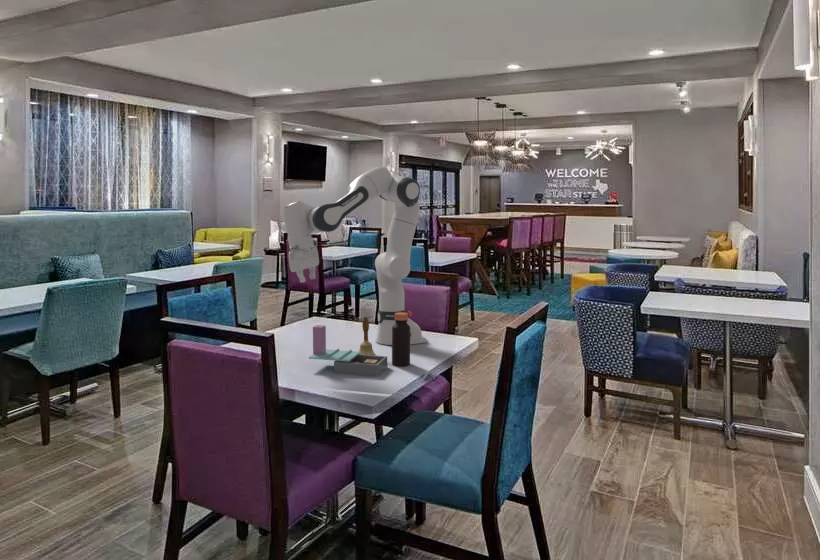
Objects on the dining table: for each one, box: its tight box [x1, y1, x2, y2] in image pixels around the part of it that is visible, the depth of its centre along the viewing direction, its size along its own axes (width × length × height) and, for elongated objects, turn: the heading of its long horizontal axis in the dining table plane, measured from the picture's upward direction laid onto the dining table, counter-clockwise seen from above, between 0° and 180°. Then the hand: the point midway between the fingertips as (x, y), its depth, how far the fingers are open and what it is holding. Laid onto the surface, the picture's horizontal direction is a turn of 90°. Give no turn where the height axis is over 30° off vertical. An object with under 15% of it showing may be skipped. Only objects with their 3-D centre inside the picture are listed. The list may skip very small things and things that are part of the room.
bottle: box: [391, 312, 411, 368], centre depth 214 cm, size 7×7×20 cm
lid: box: [308, 324, 360, 362], centre depth 208 cm, size 15×12×11 cm
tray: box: [333, 354, 388, 378], centre depth 207 cm, size 16×12×5 cm
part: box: [364, 359, 378, 364], centre depth 208 cm, size 4×4×3 cm
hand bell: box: [358, 316, 377, 356], centre depth 227 cm, size 8×8×16 cm
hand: (308, 280), depth 220 cm, fingers open, 8 cm apart
